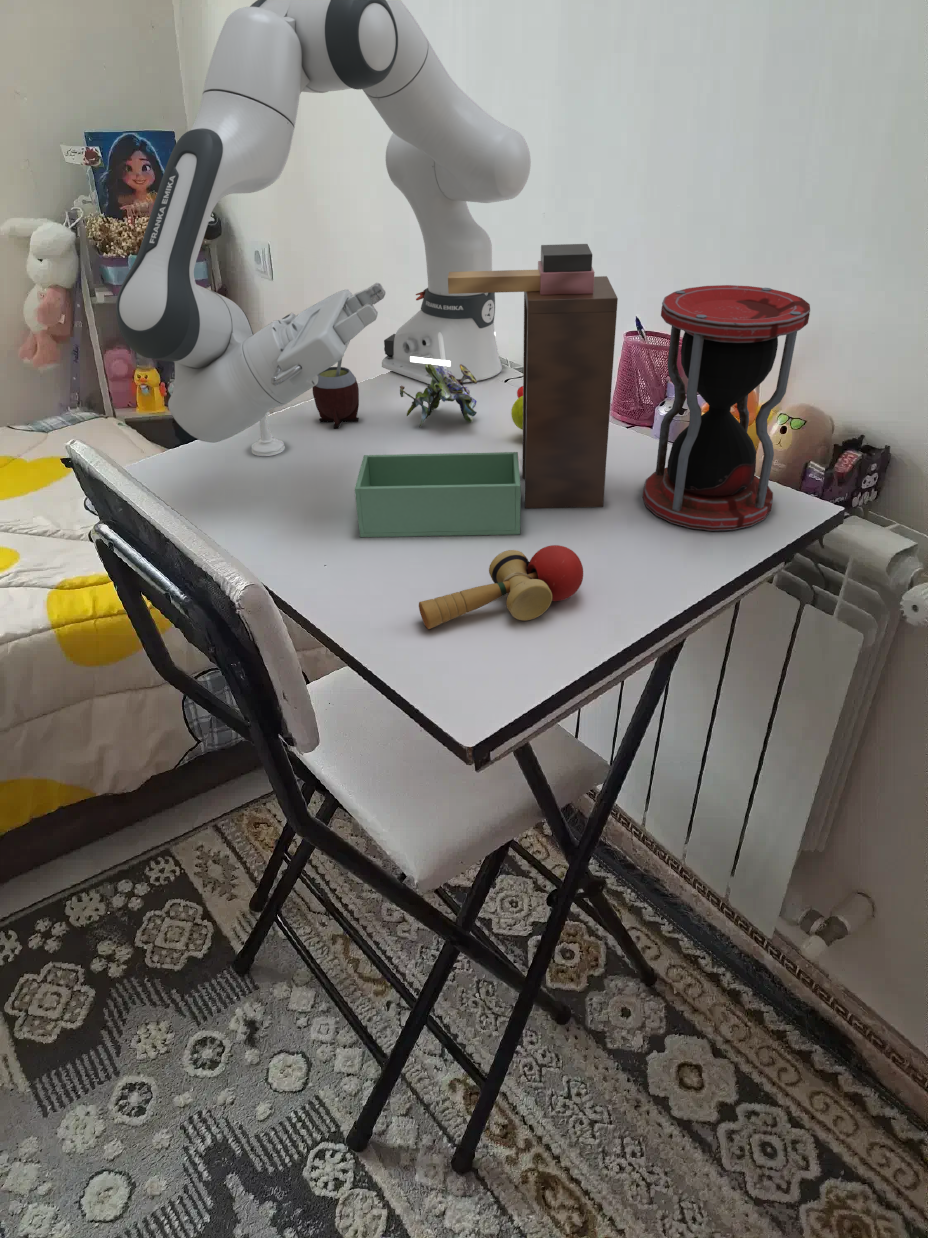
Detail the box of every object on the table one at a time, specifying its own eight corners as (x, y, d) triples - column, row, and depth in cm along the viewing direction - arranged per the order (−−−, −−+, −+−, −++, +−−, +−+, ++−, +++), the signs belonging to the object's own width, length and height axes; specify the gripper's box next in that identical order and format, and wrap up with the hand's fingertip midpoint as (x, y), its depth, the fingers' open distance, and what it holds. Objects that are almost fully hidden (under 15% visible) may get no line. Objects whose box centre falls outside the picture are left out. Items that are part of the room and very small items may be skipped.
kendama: (442, 661, 87) (601, 601, 90) (427, 607, 84) (592, 547, 87) (421, 631, 93) (569, 577, 97) (406, 580, 91) (560, 526, 94)
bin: (359, 537, 106) (354, 488, 102) (368, 501, 114) (363, 454, 110) (520, 534, 105) (520, 485, 101) (517, 498, 113) (517, 451, 109)
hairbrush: (448, 297, 98) (446, 258, 95) (449, 284, 103) (448, 246, 100) (593, 293, 97) (595, 254, 95) (588, 280, 102) (589, 242, 100)
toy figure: (553, 463, 121) (555, 418, 118) (514, 465, 122) (514, 419, 118) (543, 415, 136) (544, 374, 132) (508, 417, 136) (508, 375, 132)
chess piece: (290, 444, 130) (280, 379, 124) (276, 457, 126) (265, 391, 120) (260, 441, 131) (249, 377, 125) (245, 454, 127) (233, 389, 121)
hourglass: (730, 545, 101) (766, 331, 87) (617, 504, 111) (634, 305, 96) (794, 498, 111) (836, 298, 96) (685, 464, 120) (709, 276, 106)
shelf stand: (525, 508, 111) (527, 300, 96) (522, 474, 119) (524, 278, 104) (603, 506, 110) (617, 297, 96) (594, 473, 119) (607, 275, 104)
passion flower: (467, 452, 139) (496, 406, 128) (404, 454, 134) (429, 406, 124) (449, 395, 142) (476, 346, 132) (388, 394, 138) (410, 343, 128)
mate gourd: (321, 413, 140) (309, 319, 131) (369, 412, 140) (360, 318, 131) (312, 431, 134) (299, 333, 125) (363, 430, 133) (353, 333, 125)
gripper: (250, 364, 95) (351, 297, 91) (285, 314, 112) (372, 255, 108) (285, 411, 98) (385, 348, 94) (314, 355, 115) (400, 300, 111)
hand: (378, 298), depth 101 cm, fingers open, 8 cm apart
